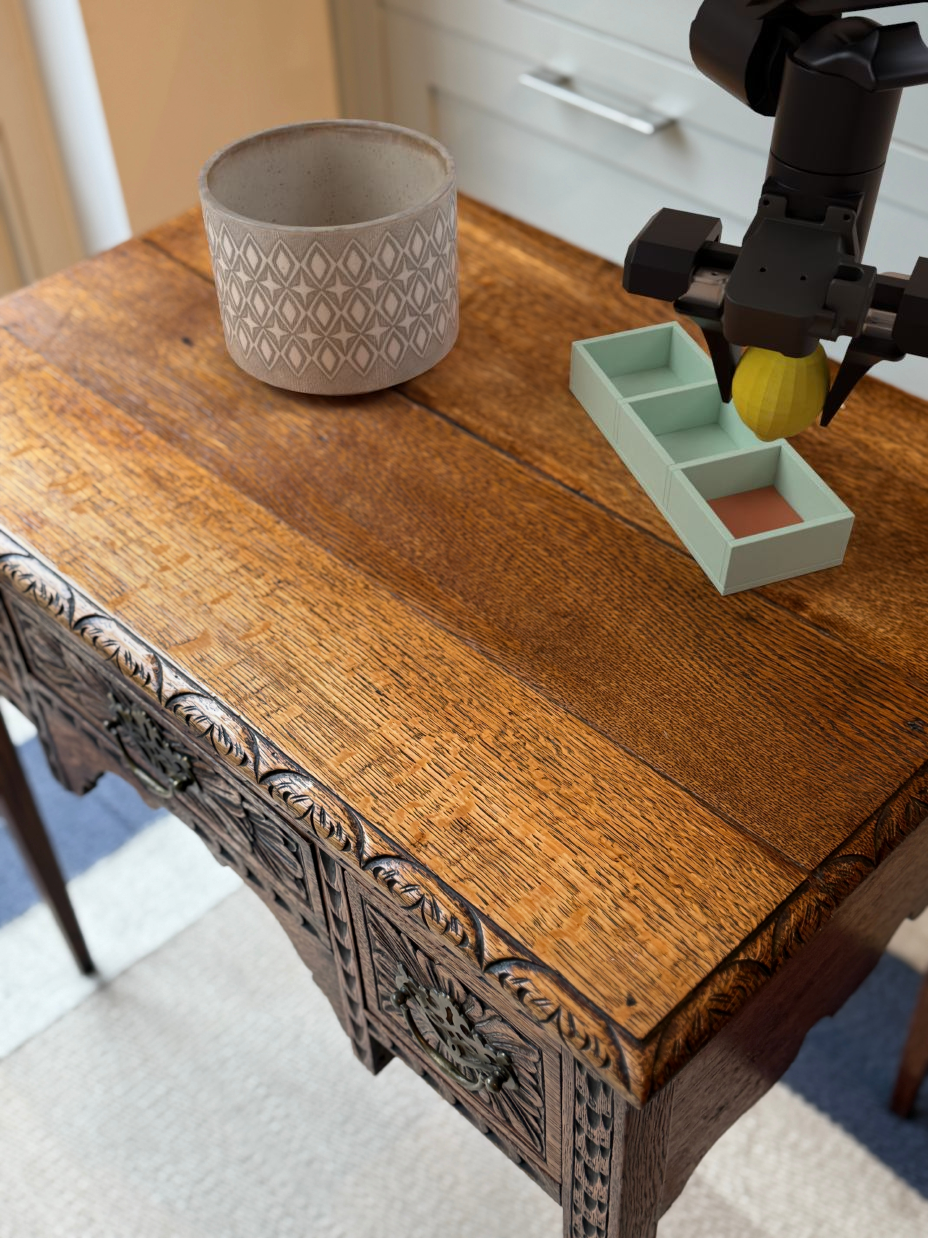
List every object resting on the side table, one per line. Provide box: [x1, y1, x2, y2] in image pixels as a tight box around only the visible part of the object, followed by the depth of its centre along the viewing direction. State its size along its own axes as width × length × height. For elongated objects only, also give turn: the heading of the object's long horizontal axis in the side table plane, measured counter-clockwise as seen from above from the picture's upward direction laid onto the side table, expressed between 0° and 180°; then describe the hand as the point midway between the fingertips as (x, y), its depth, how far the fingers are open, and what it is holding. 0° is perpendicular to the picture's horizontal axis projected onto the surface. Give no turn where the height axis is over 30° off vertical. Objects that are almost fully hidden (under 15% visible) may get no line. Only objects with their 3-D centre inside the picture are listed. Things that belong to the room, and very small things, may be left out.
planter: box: [197, 118, 460, 397], centre depth 90 cm, size 19×19×14 cm
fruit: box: [732, 341, 832, 442], centre depth 69 cm, size 6×6×8 cm
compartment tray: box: [568, 320, 856, 597], centre depth 82 cm, size 25×9×4 cm, turn 19°
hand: (775, 411), depth 70 cm, fingers closed on fruit, 5 cm apart
